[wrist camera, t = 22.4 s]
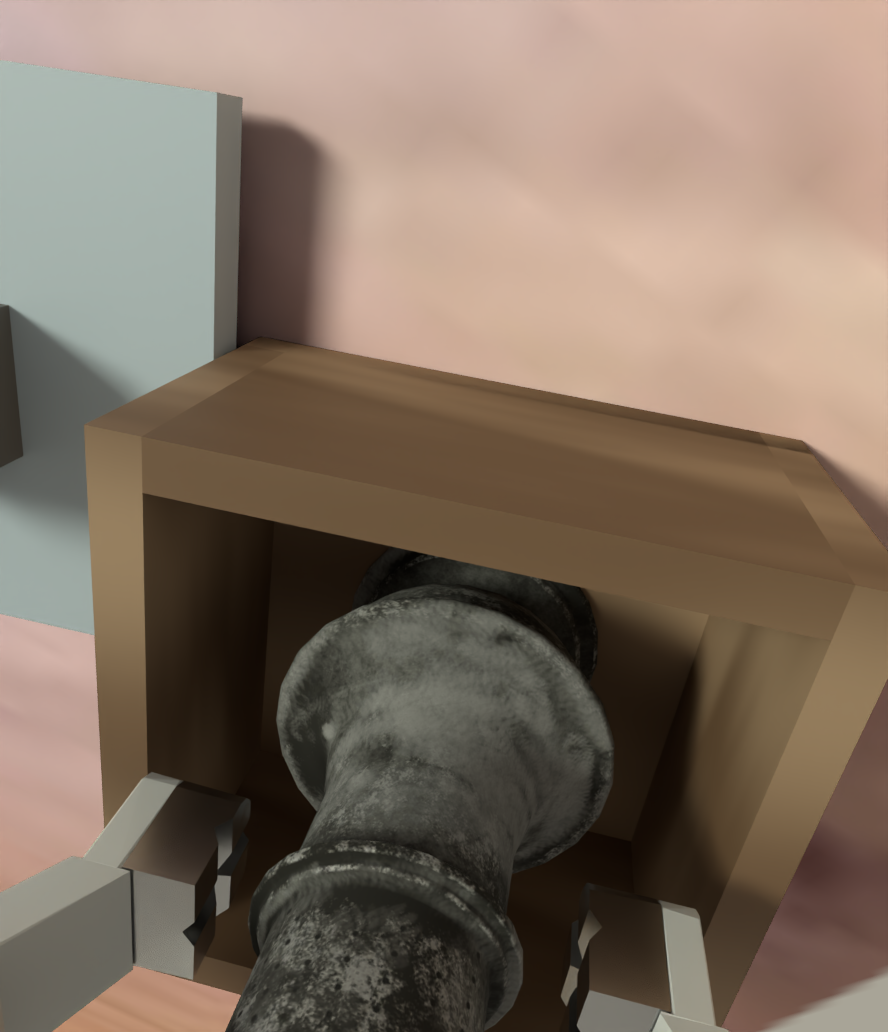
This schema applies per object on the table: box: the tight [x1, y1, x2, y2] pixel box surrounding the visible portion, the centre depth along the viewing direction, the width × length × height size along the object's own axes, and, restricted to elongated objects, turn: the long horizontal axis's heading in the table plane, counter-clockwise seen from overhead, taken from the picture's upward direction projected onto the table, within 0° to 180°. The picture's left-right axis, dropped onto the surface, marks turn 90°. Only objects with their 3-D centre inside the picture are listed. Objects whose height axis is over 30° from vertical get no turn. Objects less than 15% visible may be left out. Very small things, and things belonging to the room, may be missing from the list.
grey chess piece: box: [225, 546, 614, 1032], centre depth 11 cm, size 6×6×12 cm
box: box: [84, 337, 888, 1032], centre depth 15 cm, size 11×11×6 cm
